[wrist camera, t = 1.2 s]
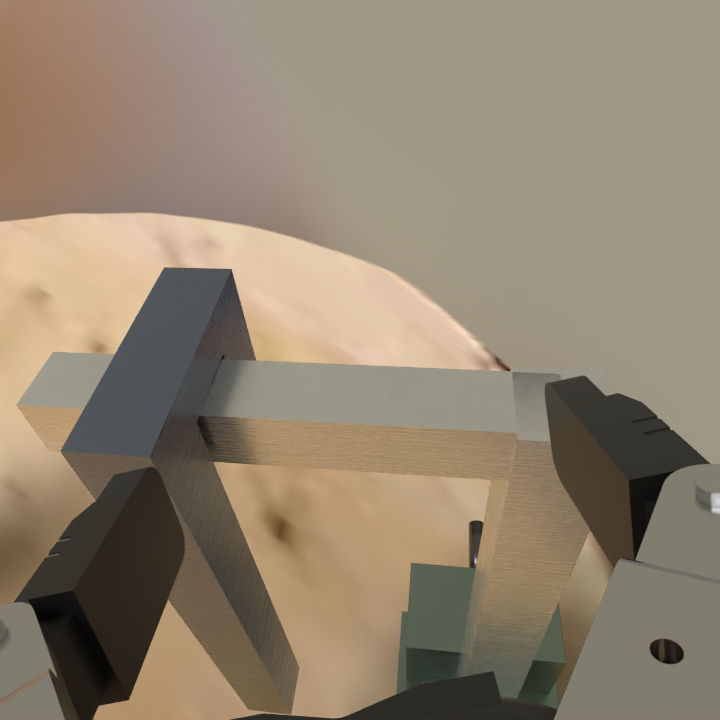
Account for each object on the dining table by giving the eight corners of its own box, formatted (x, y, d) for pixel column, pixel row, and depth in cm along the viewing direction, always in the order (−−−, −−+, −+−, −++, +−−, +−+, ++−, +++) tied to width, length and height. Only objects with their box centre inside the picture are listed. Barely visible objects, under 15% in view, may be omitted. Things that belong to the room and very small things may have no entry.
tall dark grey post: (290, 714, 27) (149, 457, 12) (248, 709, 27) (60, 450, 12) (314, 578, 31) (231, 269, 17) (277, 575, 31) (164, 267, 17)
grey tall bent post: (567, 861, 29) (890, 682, 10) (213, 810, 32) (-108, 582, 12) (537, 562, 40) (660, 195, 21) (276, 541, 43) (163, 192, 23)
